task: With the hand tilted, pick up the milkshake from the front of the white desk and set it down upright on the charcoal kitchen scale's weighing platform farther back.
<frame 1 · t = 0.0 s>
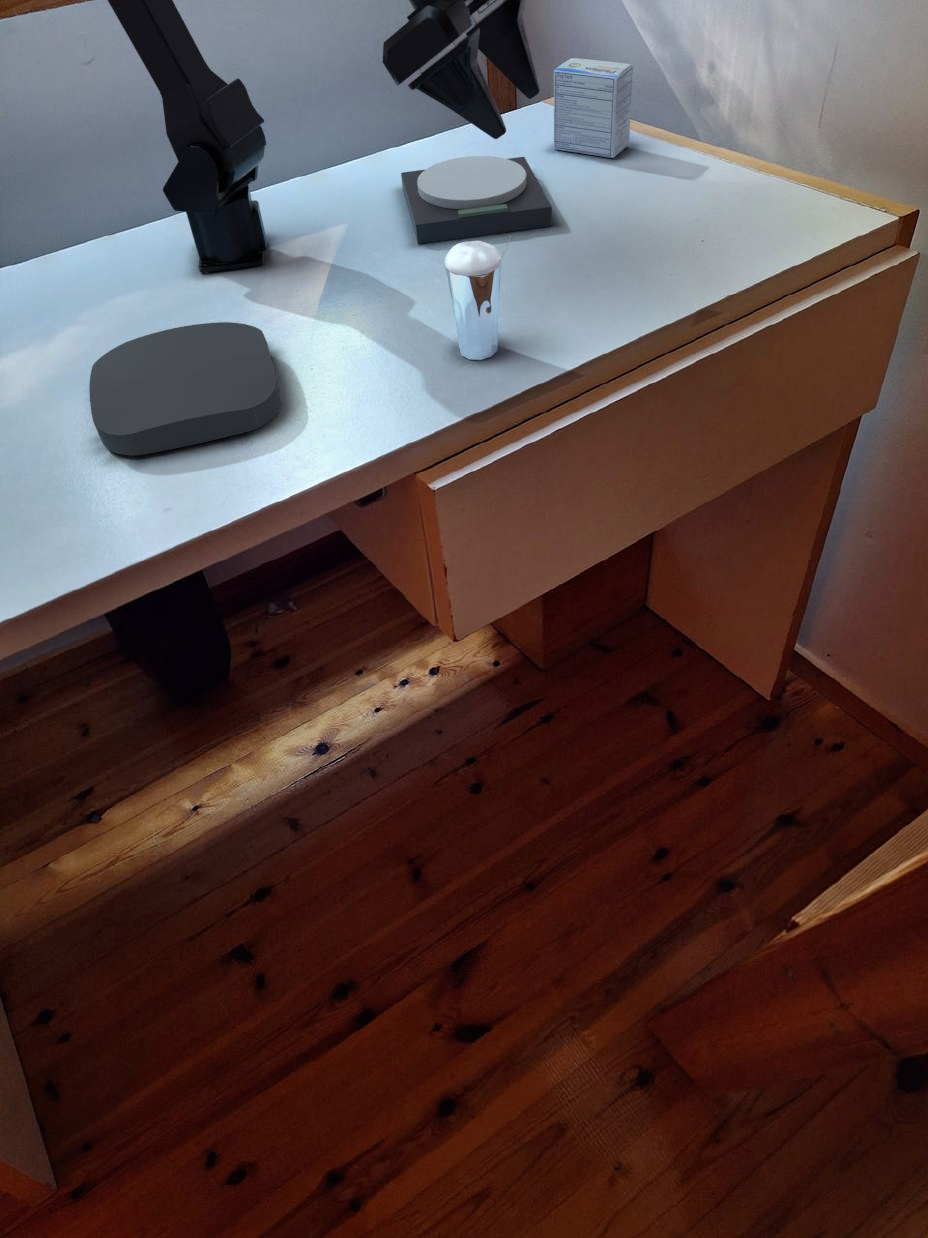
hand: (518, 114, 74), 15 cm above the table, tool tilted 35°, fingers open, 9 cm apart
milkshake: (483, 352, 78), on the table
media streaming box: (191, 400, 75), on the table
medicine box: (590, 150, 107), on the table
scale: (474, 207, 97), on the table
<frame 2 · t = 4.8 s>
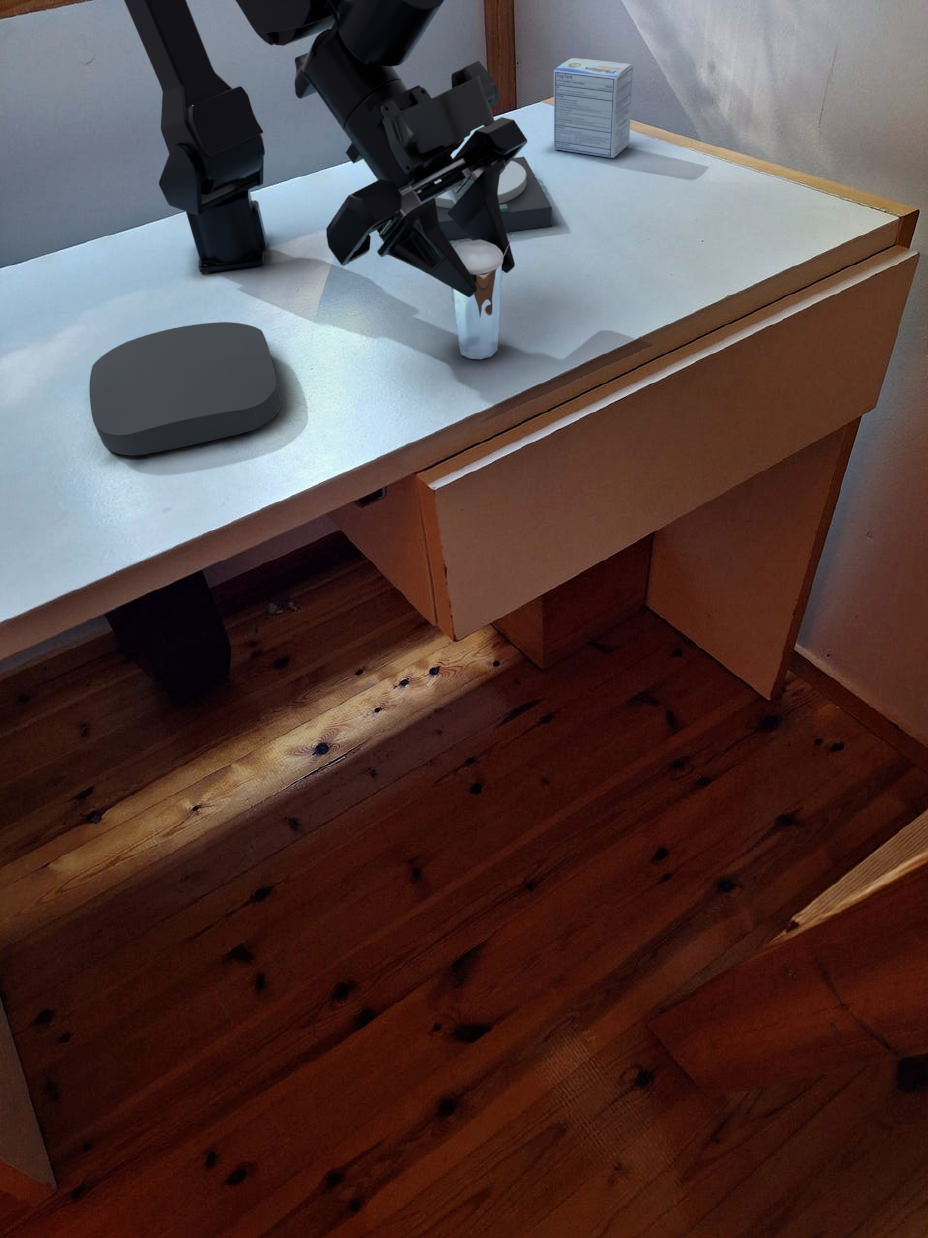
hand: (492, 281, 72), 7 cm above the table, tool tilted 45°, fingers closed on milkshake, 4 cm apart
milkshake: (483, 352, 78), on the table, touching gripper
everything else where it was.
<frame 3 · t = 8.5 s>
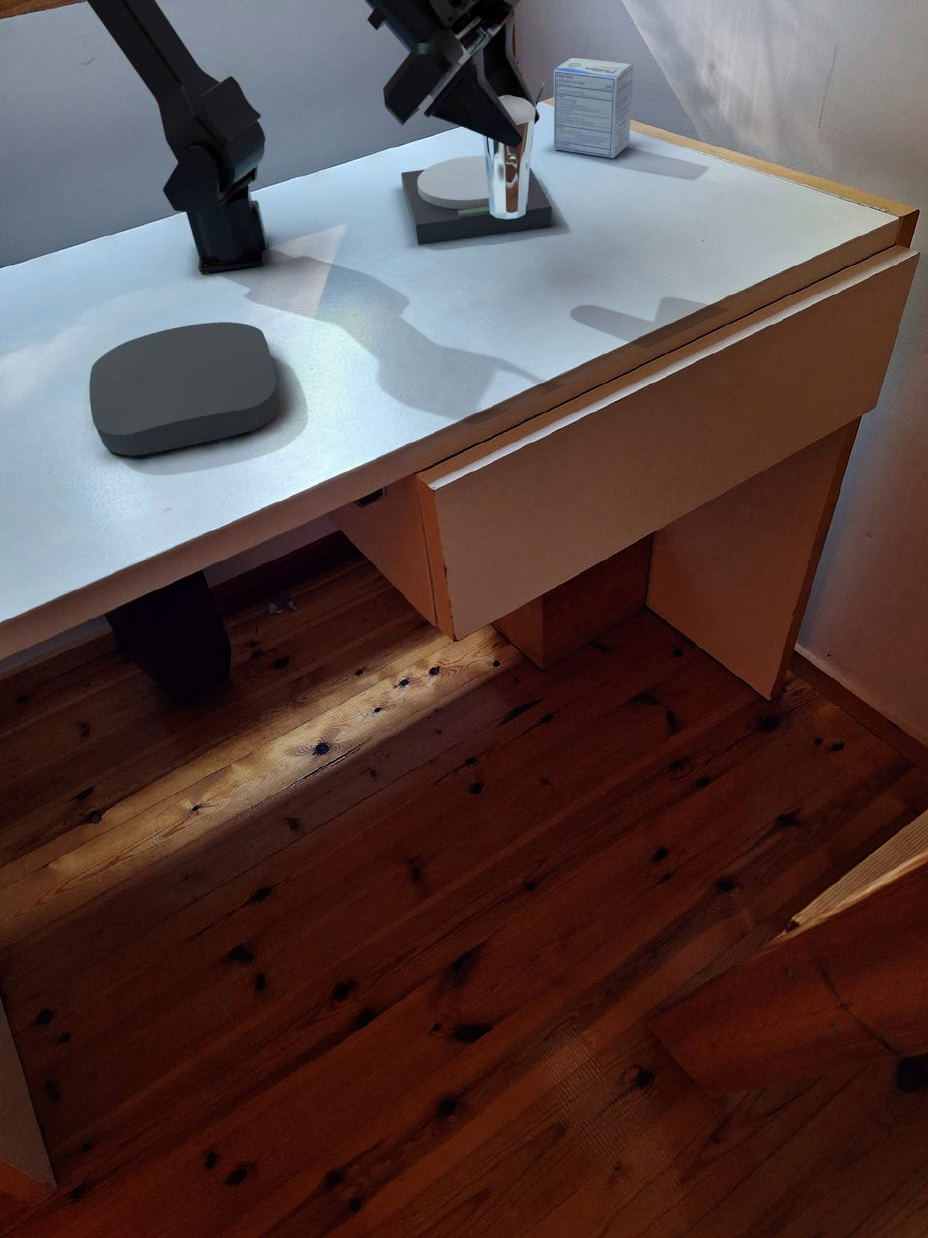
hand: (527, 133, 75), 13 cm above the table, tool tilted 45°, fingers closed on milkshake, 4 cm apart
milkshake: (512, 213, 80), point 7 cm above the table, touching gripper
everything else where it was.
when the fingers open (10 cm above the table, at t = 12.6 s): milkshake stays where it is, resting on scale.
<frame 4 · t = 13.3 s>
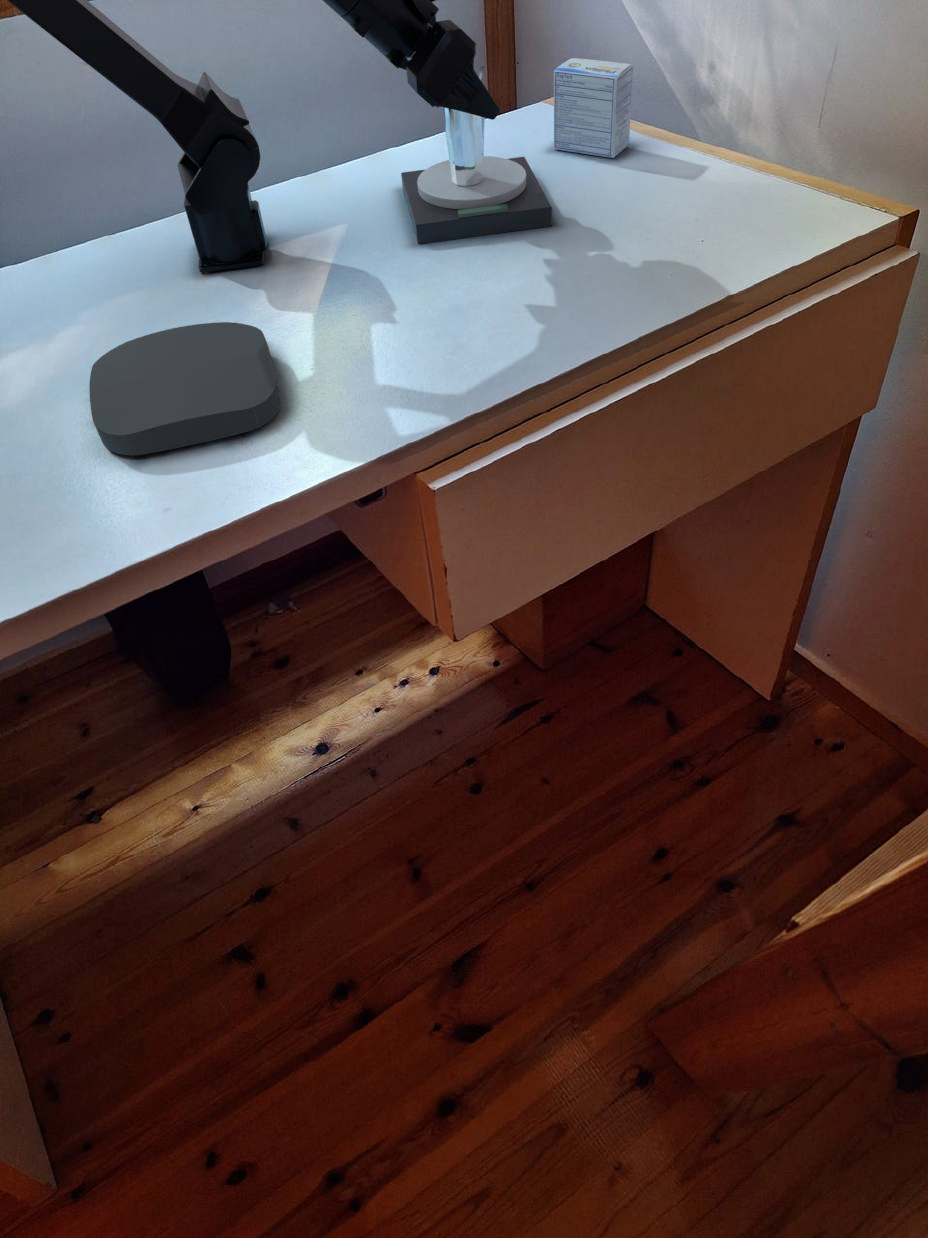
hand: (481, 100, 90), 10 cm above the table, tool tilted 45°, fingers open, 9 cm apart
milkshake: (470, 180, 95), point 3 cm above the table, touching scale
everything else where it was.
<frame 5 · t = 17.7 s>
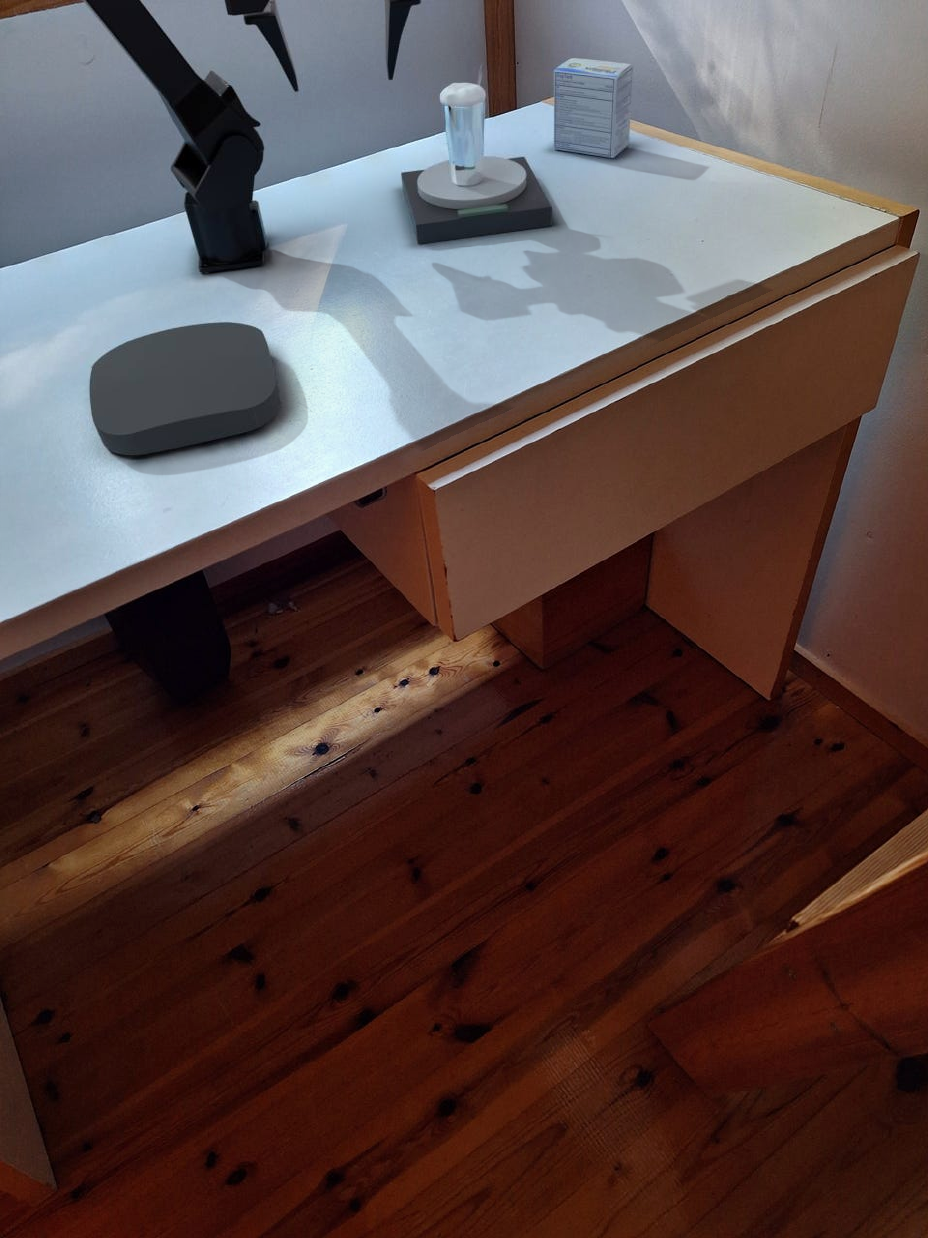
hand: (343, 84, 88), 13 cm above the table, tool pointing down, fingers open, 9 cm apart
nothing on the table moved.
at the end: milkshake inside the target area on the scale (0.5 cm from its centre), point 2.8 cm above the scale's base; milkshake tilted 0°; the gripper is holding nothing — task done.
